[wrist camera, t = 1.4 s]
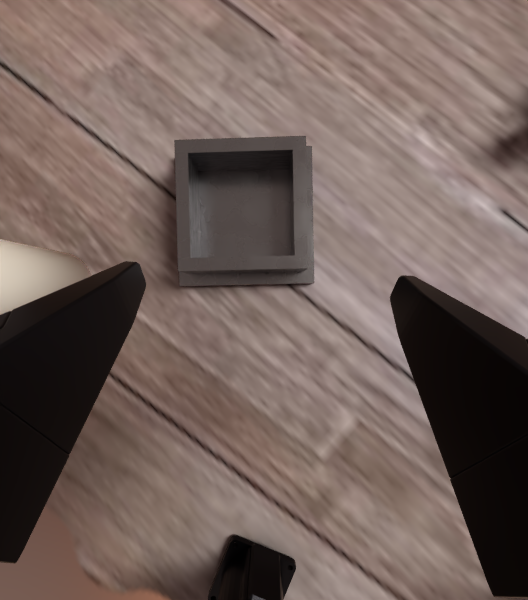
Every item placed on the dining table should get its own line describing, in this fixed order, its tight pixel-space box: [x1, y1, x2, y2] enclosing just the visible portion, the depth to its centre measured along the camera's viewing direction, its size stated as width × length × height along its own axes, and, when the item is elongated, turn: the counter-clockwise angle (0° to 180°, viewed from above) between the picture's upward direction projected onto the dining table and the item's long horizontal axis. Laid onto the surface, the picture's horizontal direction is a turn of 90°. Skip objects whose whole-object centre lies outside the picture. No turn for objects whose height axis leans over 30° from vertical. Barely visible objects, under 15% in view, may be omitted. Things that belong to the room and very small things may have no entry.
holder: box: [174, 136, 314, 286], centre depth 21 cm, size 12×12×4 cm
